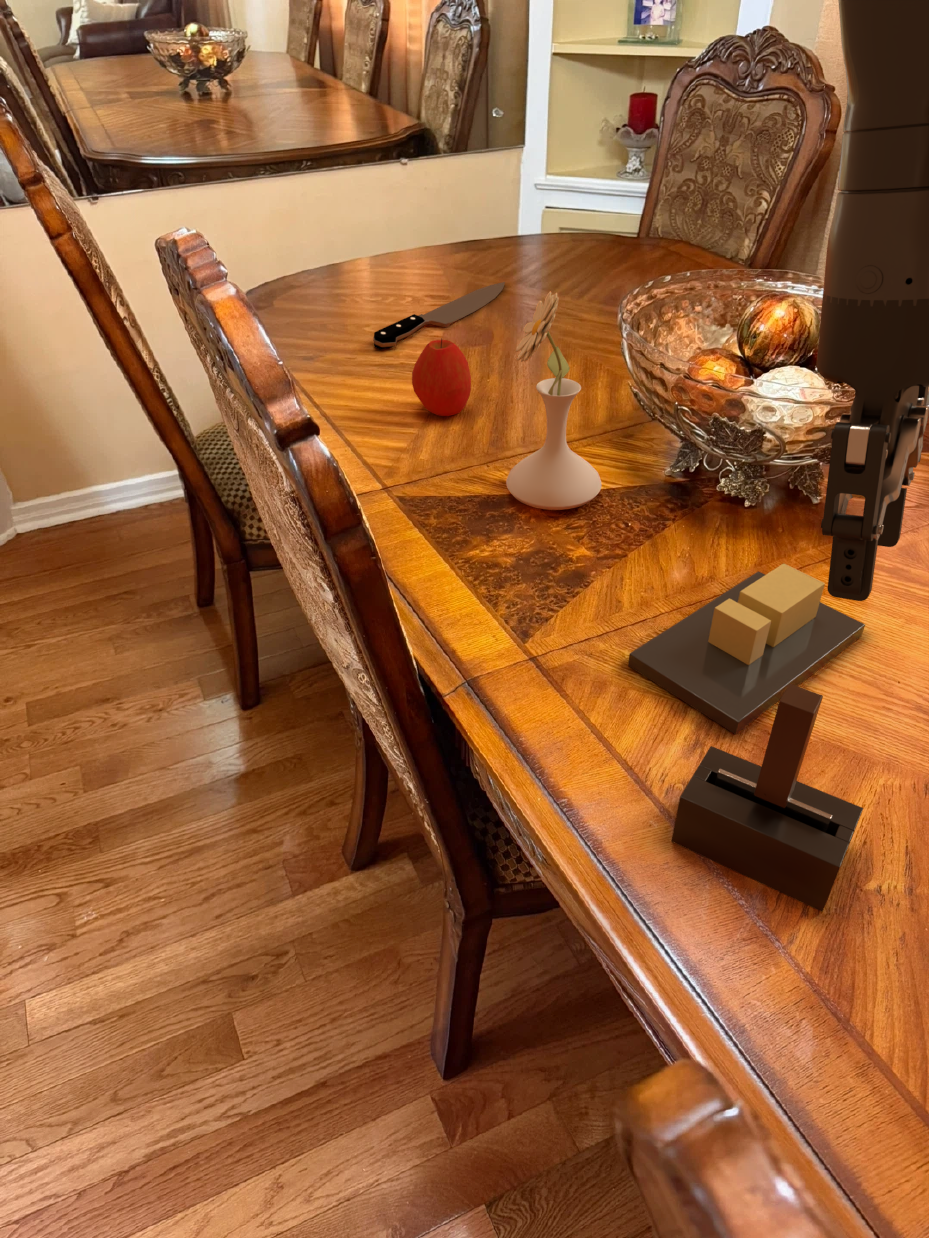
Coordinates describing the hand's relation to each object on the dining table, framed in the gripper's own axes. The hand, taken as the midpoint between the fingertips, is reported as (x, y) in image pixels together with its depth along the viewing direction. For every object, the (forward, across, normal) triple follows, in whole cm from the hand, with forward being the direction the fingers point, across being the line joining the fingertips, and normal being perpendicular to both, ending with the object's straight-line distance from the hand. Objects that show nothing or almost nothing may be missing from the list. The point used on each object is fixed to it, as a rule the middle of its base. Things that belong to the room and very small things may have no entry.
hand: (864, 568), depth 53 cm
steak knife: (-1, +83, +87) cm, 121 cm away
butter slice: (+18, +19, +13) cm, 29 cm away
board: (+19, +21, +13) cm, 31 cm away
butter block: (+17, +25, +11) cm, 32 cm away
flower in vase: (+13, +36, +41) cm, 57 cm away
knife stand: (+23, 0, +5) cm, 24 cm away
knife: (+23, 0, +5) cm, 24 cm away
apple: (+7, +50, +66) cm, 83 cm away
